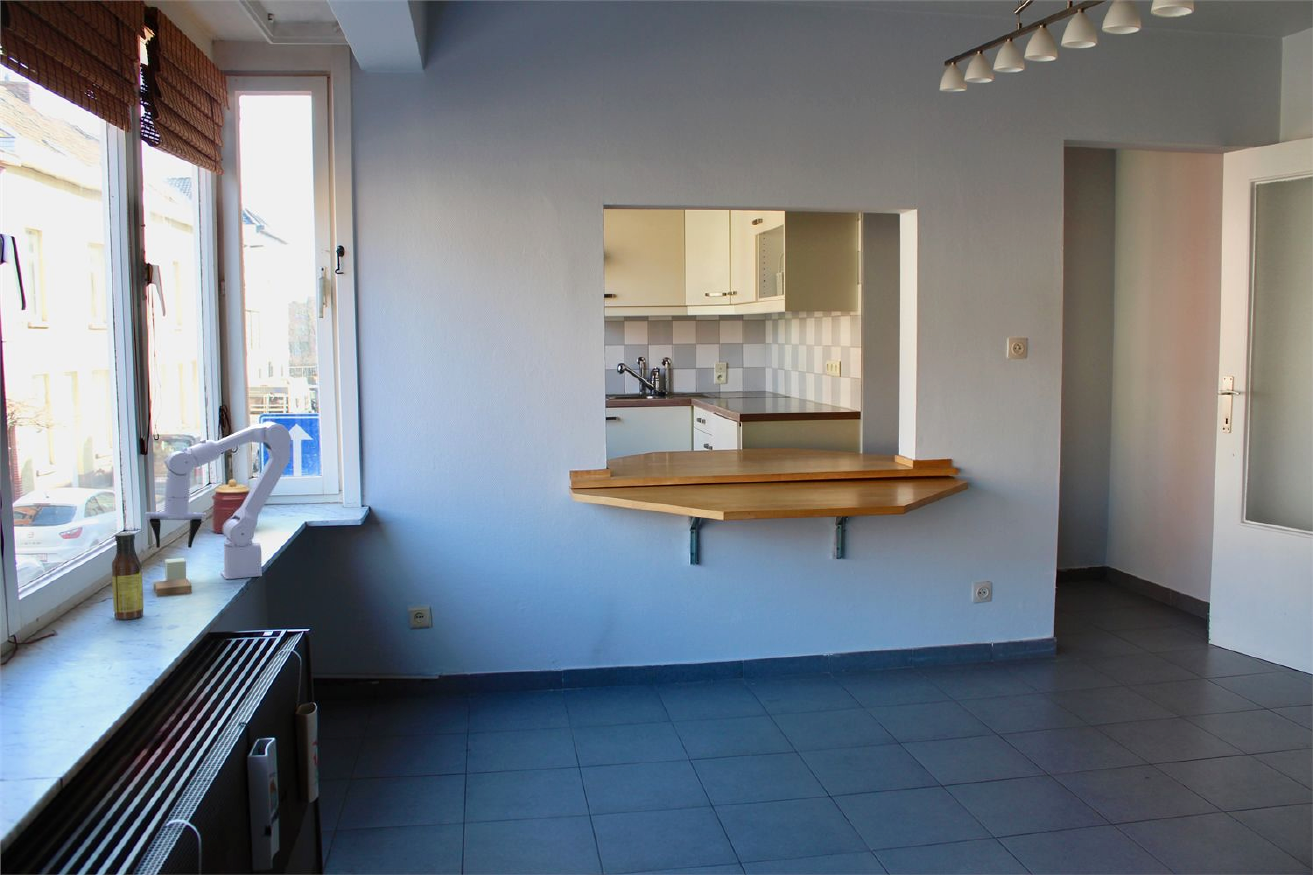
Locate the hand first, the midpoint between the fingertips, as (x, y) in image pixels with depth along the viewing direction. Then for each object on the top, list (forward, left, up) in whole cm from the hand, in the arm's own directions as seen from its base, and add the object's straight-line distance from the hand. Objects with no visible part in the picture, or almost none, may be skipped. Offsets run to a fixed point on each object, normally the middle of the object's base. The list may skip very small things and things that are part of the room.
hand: (173, 546), depth 269 cm
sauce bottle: (+14, +31, -10) cm, 35 cm away
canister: (-26, -68, -10) cm, 74 cm away
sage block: (0, 0, -10) cm, 10 cm away
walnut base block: (+2, +10, -10) cm, 14 cm away
